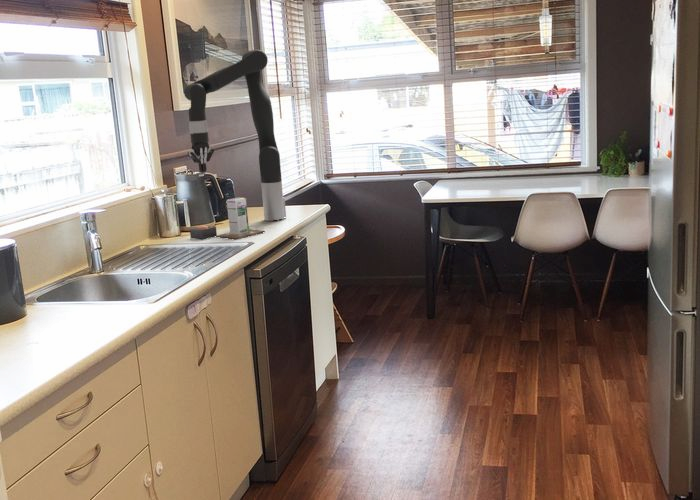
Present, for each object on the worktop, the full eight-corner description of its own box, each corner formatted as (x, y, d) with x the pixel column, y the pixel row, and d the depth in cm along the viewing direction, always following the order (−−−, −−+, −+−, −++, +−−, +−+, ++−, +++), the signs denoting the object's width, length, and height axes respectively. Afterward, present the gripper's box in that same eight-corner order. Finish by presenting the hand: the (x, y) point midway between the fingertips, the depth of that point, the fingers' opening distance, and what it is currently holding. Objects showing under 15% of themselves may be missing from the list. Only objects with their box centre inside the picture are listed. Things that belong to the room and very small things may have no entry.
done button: (204, 232, 320) (203, 225, 319) (211, 233, 317) (210, 226, 316) (195, 234, 317) (195, 227, 316) (202, 235, 314) (201, 227, 313)
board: (245, 230, 327) (245, 228, 326) (264, 232, 319) (264, 230, 319) (216, 237, 315) (215, 235, 315) (235, 239, 307) (235, 237, 307)
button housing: (205, 234, 322) (204, 225, 321) (216, 236, 317) (216, 226, 316) (190, 238, 317) (189, 228, 316) (202, 239, 312) (201, 230, 311)
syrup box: (239, 235, 313) (236, 199, 310) (229, 234, 316) (226, 199, 313) (249, 232, 317) (246, 197, 314) (239, 231, 321) (236, 197, 318)
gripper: (205, 130, 334) (209, 170, 337) (180, 133, 324) (185, 174, 327) (216, 130, 329) (220, 170, 332) (191, 133, 319) (196, 174, 323)
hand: (203, 172), depth 330 cm, fingers closed
